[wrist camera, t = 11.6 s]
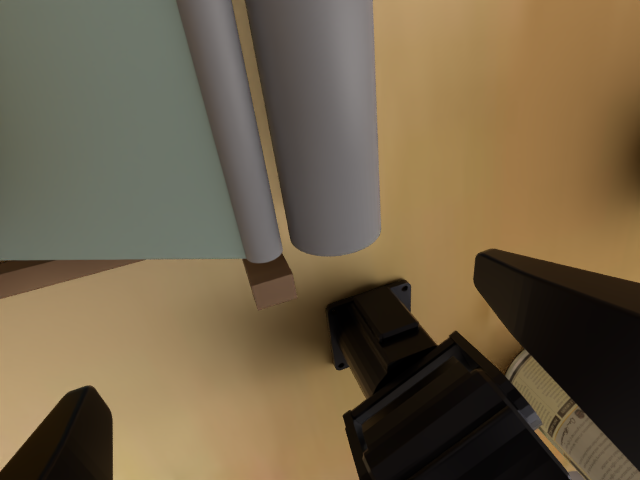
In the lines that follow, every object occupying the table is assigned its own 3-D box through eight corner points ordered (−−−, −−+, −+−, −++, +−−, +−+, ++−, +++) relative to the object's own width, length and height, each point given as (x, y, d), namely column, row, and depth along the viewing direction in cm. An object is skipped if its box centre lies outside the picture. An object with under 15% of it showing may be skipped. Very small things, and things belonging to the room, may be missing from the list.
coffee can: (593, 319, 40) (767, 438, 28) (556, 386, 44) (692, 511, 33) (521, 335, 36) (685, 478, 25) (489, 406, 41) (614, 553, 29)
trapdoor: (381, 207, 16) (379, 262, 12) (28, 219, 19) (-47, 264, 16) (357, -508, 7) (331, -933, 4) (-260, -252, 11) (-546, -364, 8)
